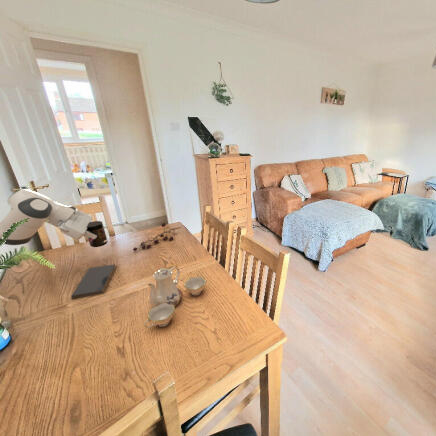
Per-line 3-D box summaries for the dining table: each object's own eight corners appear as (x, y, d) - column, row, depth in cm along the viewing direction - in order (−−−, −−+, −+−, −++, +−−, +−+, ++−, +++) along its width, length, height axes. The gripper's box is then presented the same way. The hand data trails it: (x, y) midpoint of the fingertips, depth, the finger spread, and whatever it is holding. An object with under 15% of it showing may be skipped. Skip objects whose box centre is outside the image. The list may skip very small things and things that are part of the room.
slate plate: (72, 298, 94) (71, 295, 93) (90, 270, 111) (89, 267, 110) (103, 293, 97) (102, 290, 97) (115, 266, 114) (114, 264, 114)
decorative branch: (131, 243, 123) (171, 213, 146) (129, 253, 128) (168, 222, 152) (150, 255, 124) (186, 223, 147) (147, 264, 129) (183, 232, 153)
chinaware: (166, 341, 80) (163, 303, 73) (124, 326, 83) (118, 288, 76) (211, 289, 105) (212, 257, 99) (178, 279, 108) (176, 247, 101)
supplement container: (94, 241, 114) (88, 221, 110) (110, 240, 115) (105, 220, 111) (87, 248, 108) (80, 227, 104) (104, 247, 109) (97, 226, 105)
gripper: (60, 220, 93) (98, 237, 101) (73, 204, 110) (105, 220, 118) (49, 232, 93) (88, 249, 101) (64, 215, 109) (96, 230, 118)
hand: (97, 233), depth 110 cm, fingers closed on supplement container, 6 cm apart
